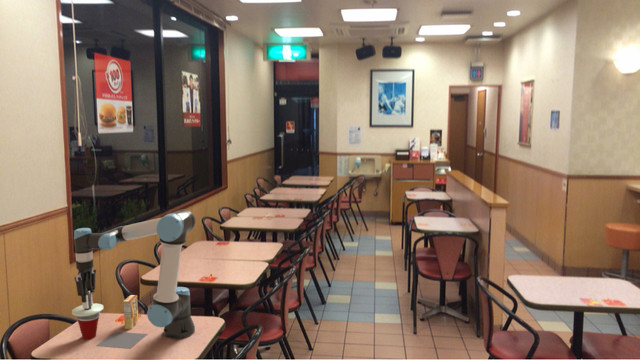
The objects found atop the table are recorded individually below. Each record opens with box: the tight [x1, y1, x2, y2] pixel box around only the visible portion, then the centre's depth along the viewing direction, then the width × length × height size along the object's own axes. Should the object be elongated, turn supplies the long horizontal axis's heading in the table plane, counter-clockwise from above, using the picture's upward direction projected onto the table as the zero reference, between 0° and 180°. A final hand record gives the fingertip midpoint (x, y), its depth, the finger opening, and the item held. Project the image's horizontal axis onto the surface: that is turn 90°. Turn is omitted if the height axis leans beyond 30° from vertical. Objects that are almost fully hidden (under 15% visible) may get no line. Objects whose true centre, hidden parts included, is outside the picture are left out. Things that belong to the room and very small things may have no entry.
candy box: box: [123, 294, 139, 330], centre depth 256 cm, size 9×4×15 cm, turn 179°
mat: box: [95, 331, 149, 350], centre depth 240 cm, size 18×16×1 cm
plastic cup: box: [75, 312, 101, 340], centre depth 243 cm, size 11×11×12 cm
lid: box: [71, 290, 105, 317], centre depth 241 cm, size 14×14×10 cm
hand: (87, 306), depth 242 cm, fingers closed on lid, 3 cm apart
